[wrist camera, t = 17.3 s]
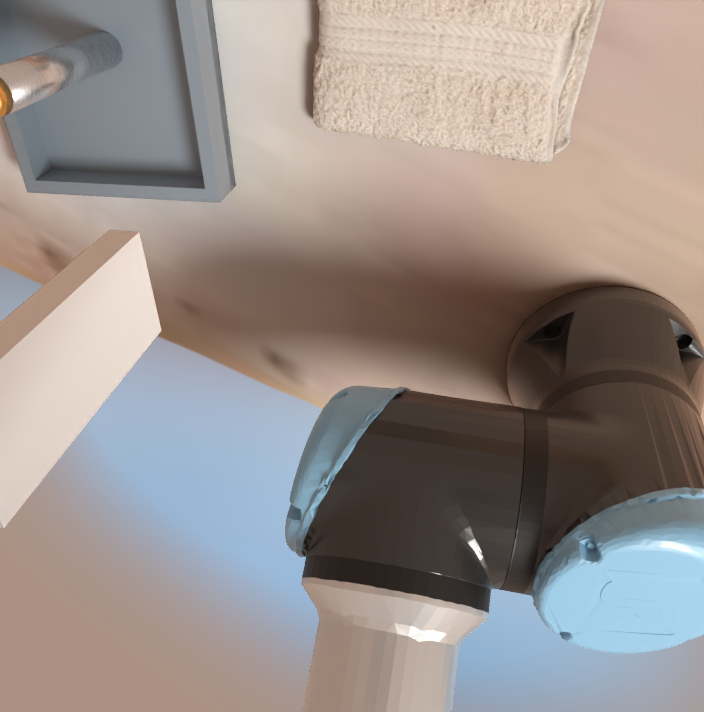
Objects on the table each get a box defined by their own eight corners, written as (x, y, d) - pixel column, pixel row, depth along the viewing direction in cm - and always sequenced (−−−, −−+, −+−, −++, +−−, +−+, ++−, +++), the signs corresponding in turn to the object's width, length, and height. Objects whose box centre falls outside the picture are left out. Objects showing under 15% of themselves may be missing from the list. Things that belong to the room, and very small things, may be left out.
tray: (235, 185, 52) (219, 202, 49) (52, 176, 55) (27, 192, 52) (194, -129, 41) (171, -131, 38) (-34, -120, 44) (-72, -121, 41)
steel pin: (125, 67, 48) (6, 123, 36) (95, 67, 48) (-33, 121, 37) (118, 31, 46) (-9, 76, 35) (86, 30, 47) (-49, 75, 35)
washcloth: (562, 156, 47) (565, 172, 44) (315, 125, 49) (304, 138, 46) (612, -39, 40) (619, -34, 37) (320, -66, 42) (308, -62, 39)
